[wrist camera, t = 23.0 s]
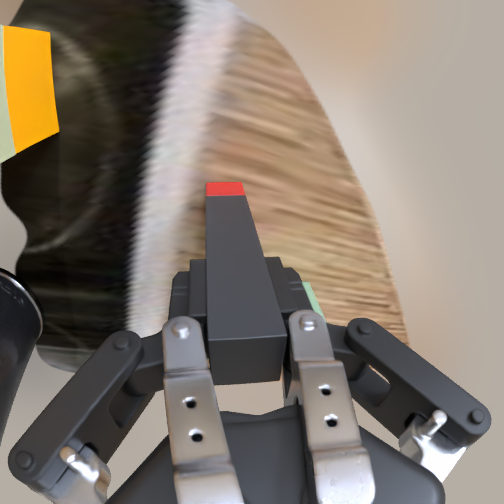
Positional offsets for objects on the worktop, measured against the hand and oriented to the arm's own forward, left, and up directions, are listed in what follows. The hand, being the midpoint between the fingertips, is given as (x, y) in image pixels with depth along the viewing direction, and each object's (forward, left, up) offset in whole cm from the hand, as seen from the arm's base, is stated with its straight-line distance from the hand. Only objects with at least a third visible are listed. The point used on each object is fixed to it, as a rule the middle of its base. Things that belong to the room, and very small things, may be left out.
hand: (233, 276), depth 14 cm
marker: (0, 0, -2) cm, 2 cm away
